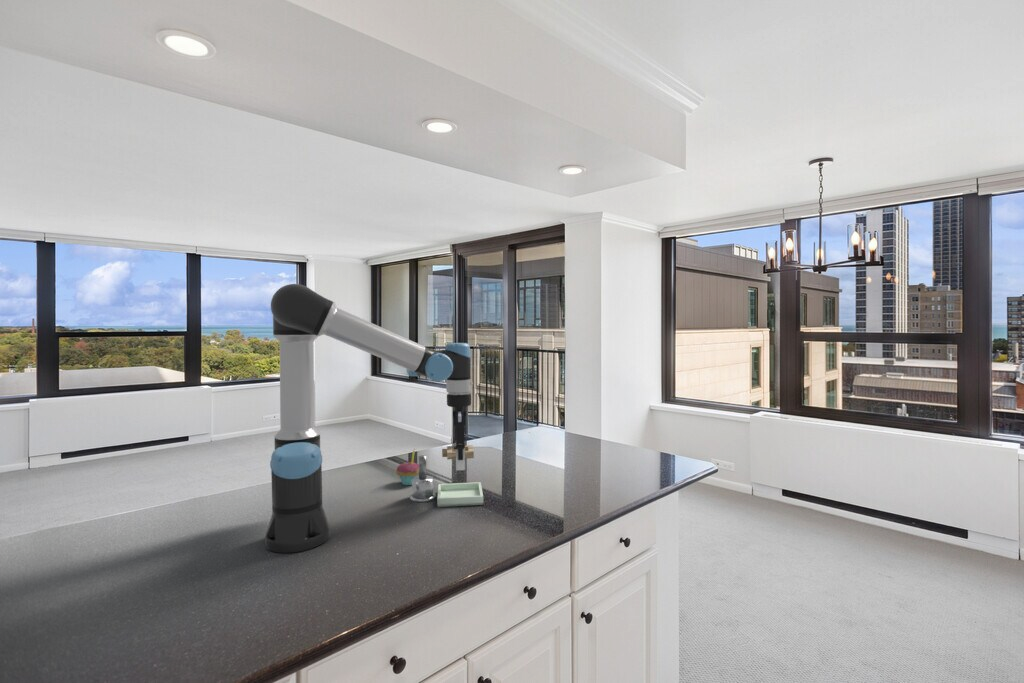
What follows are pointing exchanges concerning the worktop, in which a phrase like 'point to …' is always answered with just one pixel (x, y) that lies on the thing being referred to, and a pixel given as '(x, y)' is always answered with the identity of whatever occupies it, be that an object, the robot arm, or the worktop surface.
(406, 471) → the cupcake
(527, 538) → the worktop surface
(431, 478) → the silver bell-shaped piece
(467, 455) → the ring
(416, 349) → the robot arm
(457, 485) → the tray
